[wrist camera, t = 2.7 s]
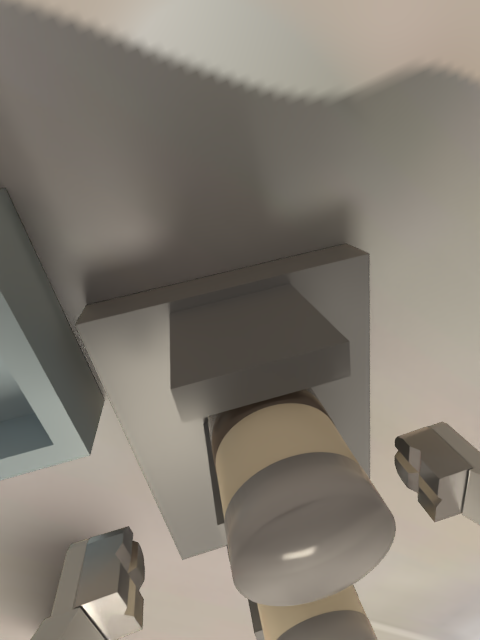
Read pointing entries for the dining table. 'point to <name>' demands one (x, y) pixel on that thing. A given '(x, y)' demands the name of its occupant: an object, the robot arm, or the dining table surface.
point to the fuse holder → (231, 370)
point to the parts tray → (38, 364)
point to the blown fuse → (295, 502)
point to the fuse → (318, 619)
